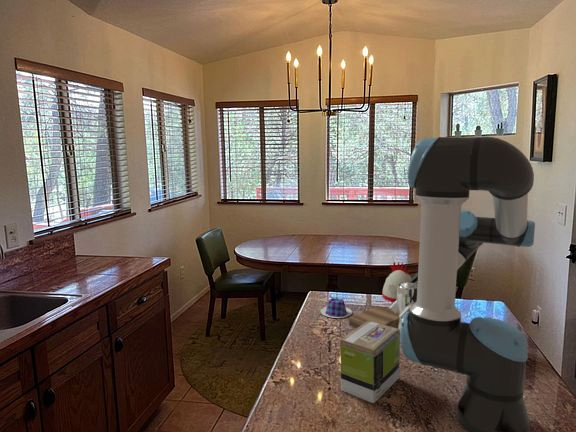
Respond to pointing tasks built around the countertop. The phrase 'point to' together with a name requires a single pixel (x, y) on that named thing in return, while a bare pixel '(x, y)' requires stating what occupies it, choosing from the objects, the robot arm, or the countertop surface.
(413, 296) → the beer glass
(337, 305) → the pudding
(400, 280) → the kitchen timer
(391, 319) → the walnut serving board
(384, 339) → the tea box
